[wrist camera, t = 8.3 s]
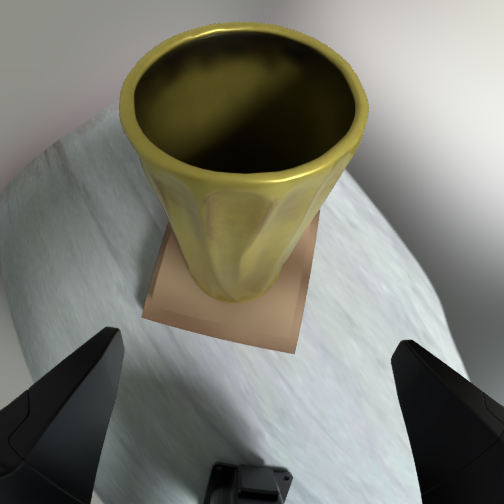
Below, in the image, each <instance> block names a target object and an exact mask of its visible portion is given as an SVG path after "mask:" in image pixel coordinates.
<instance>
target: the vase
mask: <svg viewBox="0 0 504 504" xmlns="http://www.w3.org/2000/svg"><path fill="white" fill-rule="evenodd" d="M368 112H369V104H368V99H367V96H366V93H365V91H364V89H363V87H362V84H361V82H360V80H359V79H358V76H357V74H356V73H355V72H354V70H353V69H352V67H351V66H350V64H348V63H347V61H345V60H344V59H343V58H342V57H341V56H340V55H339V54H338V53H336V52H335V51H334V50H332V49H331V48H330V47H328V46H327V45H325V44H323V43H322V42H320V41H318V40H317V39H315V38H313V37H311V36H308V35H306V34H303V33H301V32H298V31H295V30H292V29H289V28H285V27H282V26H277V25H272V24H265V23H254V22H229V23H218V24H211V25H207V26H203V27H198V28H195V29H192V30H189V31H186V32H183V33H180V34H178V35H175V36H173V37H171V38H169V39H167V40H165V41H163V42H162V43H160V44H159V45H157V46H156V47H154V48H153V49H152V50H150V51H149V52H148V53H146V54H145V55H144V56H143V57H142V58H141V59H140V60H139V61H138V62H137V63H136V65H135V66H134V67H133V68H132V70H131V71H130V73H129V74H128V76H127V77H126V79H125V81H124V83H123V86H122V90H121V95H120V102H119V115H120V122H121V125H122V128H123V131H124V133H125V134H126V136H127V137H128V139H129V140H130V142H131V144H132V145H133V147H134V148H135V150H136V151H137V154H138V156H139V159H140V162H141V164H142V167H143V170H144V172H145V174H146V176H147V178H148V180H149V182H150V184H151V186H152V188H153V189H154V191H155V193H156V195H157V196H158V198H159V200H160V202H161V204H162V206H163V208H164V210H165V212H166V214H167V217H168V219H169V221H170V224H171V226H172V228H173V231H174V233H175V235H176V238H177V240H178V243H179V245H180V248H181V250H182V252H183V255H184V257H185V260H186V261H187V263H188V268H189V272H190V274H191V276H192V278H193V280H194V281H195V283H196V284H197V286H198V287H199V288H200V289H201V290H202V291H203V292H204V293H206V294H207V295H208V296H210V297H212V298H214V299H216V300H219V301H222V302H227V303H244V302H248V301H251V300H254V299H256V298H259V297H261V296H262V295H264V294H265V293H266V292H267V291H268V290H269V289H270V288H271V287H272V286H273V284H274V283H275V282H276V281H277V279H278V277H279V275H280V272H281V269H282V265H283V264H284V263H285V262H286V260H287V259H288V257H289V256H290V254H291V252H292V251H293V249H294V248H295V246H296V244H297V242H298V241H299V239H300V237H301V235H302V233H303V232H304V230H305V229H306V227H307V226H308V225H309V224H310V222H311V221H312V219H313V218H314V216H315V215H316V213H317V212H318V210H319V209H320V207H321V206H322V204H323V203H324V201H325V200H326V198H327V197H328V195H329V193H330V192H331V190H332V189H333V187H334V185H335V184H336V182H337V181H338V179H339V177H340V176H341V174H342V172H343V171H344V169H345V168H346V166H347V164H348V163H349V161H350V160H351V158H352V157H353V155H354V153H355V151H356V149H357V148H358V146H359V144H360V142H361V139H362V136H363V132H364V129H365V126H366V122H367V118H368Z"/></svg>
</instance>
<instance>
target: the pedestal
mask: <svg viewBox="0 0 504 504" xmlns="http://www.w3.org/2000/svg"><path fill="white" fill-rule="evenodd" d="M319 214H320V210H318V212H317V213H316V215H315V216H314V218H313V219H312V221H311V222H310V224H309V225H308V226H307V227H306V229H305V230H304V232H303V233H302V235H301V237H300V239H299V241H298V242H297V244H296V246H295V248H294V249H293V251H292V252H291V254H290V256H289V257H288V259H287V260H286V262H285V263H284V264H283V265H282V269H281V272H280V275H279V277H278V279H277V281H276V282H275V283H274V284H273V286H272V287H271V288H270V289H269V290H268V291H267V292H266V293H265V294H264V295H262V296H261V297H259V298H256V299H254V300H251V301H248V302H244V303H227V302H222V301H219V300H216V299H214V298H212V297H210V296H208V295H207V294H206V293H204V292H203V291H202V290H201V289H200V288H199V287H198V286H197V284H196V283H195V281H194V280H193V278H192V276H191V274H190V272H189V268H188V263H187V261H186V260H185V257H184V255H183V252H182V250H181V248H180V245H179V243H178V240H177V238H176V235H175V233H174V231H173V228H172V226H171V224H170V221H169V222H168V225H167V228H166V231H165V235H164V238H163V241H162V244H161V248H160V251H159V254H158V258H157V261H156V265H155V268H154V272H153V275H152V279H151V283H150V286H149V290H148V294H147V298H146V302H145V305H144V309H143V314H142V318H145V319H148V320H151V321H155V322H158V323H162V324H165V325H169V326H172V327H176V328H180V329H183V330H187V331H191V332H195V333H199V334H203V335H207V336H211V337H215V338H219V339H223V340H228V341H232V342H236V343H241V344H245V345H250V346H255V347H260V348H265V349H270V350H275V351H280V352H286V353H291V354H295V350H296V346H297V341H298V336H299V331H300V326H301V321H302V316H303V311H304V306H305V300H306V295H307V290H308V284H309V278H310V272H311V267H312V260H313V254H314V248H315V242H316V235H317V228H318V221H319Z"/></svg>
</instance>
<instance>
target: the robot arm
mask: <svg viewBox="0 0 504 504" xmlns="http://www.w3.org/2000/svg"><path fill="white" fill-rule="evenodd" d="M123 357H124V345H123V340H122V336H121V332H120V330H119V329H118V328H115V327H105V328H104V329H102V330H101V331H100V332H98V333H97V334H96V335H95V336H93V337H92V338H91V339H89V340H88V341H87V342H86V343H84V344H83V345H82V346H81V347H79V348H78V349H77V350H75V351H74V352H73V353H72V354H70V355H69V356H68V357H67V358H65V359H64V360H63V361H62V362H60V363H59V364H58V365H57V366H55V367H54V368H53V369H52V370H50V371H49V372H48V373H47V374H45V375H44V376H43V377H42V378H41V379H39V380H38V381H37V382H36V383H34V384H33V385H32V386H31V387H30V388H29V390H26V391H25V392H23V393H22V394H21V395H20V396H19V397H17V398H16V399H15V400H14V401H12V402H11V403H10V404H9V405H7V406H6V407H4V408H3V409H2V410H0V504H90V503H91V498H92V493H93V488H94V483H95V478H96V473H97V469H98V464H99V460H100V455H101V451H102V447H103V443H104V439H105V435H106V431H107V428H108V424H109V420H110V417H111V413H112V410H113V406H114V403H115V399H116V394H117V389H118V383H119V378H120V372H121V367H122V362H123ZM391 365H392V370H393V375H394V380H395V385H396V390H397V395H398V400H399V404H400V407H401V411H402V414H403V418H404V422H405V425H406V429H407V433H408V437H409V441H410V445H411V449H412V454H413V458H414V462H415V467H416V472H417V476H418V481H419V487H420V492H421V498H422V504H504V407H503V406H502V405H500V404H499V403H497V402H496V401H494V400H493V399H492V398H490V397H489V396H488V395H487V394H485V393H484V392H482V391H481V390H480V389H479V388H477V387H476V386H474V385H473V384H472V383H471V382H469V381H468V380H467V379H465V378H464V377H463V376H461V375H460V374H459V373H457V372H456V371H454V370H453V369H452V368H450V367H449V366H448V365H446V364H445V363H444V362H442V361H441V360H440V359H438V358H437V357H435V356H434V355H433V354H431V353H430V352H429V351H427V350H426V349H424V348H423V347H422V346H420V345H419V344H418V343H416V342H415V341H413V340H402V341H401V342H400V343H399V345H398V346H397V348H396V350H395V352H394V354H393V355H392V358H391ZM216 467H221V469H220V470H218V469H216ZM285 476H289V477H288V478H287V479H284V477H285ZM292 479H293V476H292V474H291V473H290V472H284V471H274V470H272V469H270V468H263V467H255V466H248V465H239V466H237V465H231V464H225V463H220V462H217V463H214V464H213V466H212V469H211V474H210V478H209V482H208V486H207V490H206V494H205V499H204V503H203V504H284V502H285V499H286V497H287V494H288V491H289V488H290V485H291V482H292Z"/></svg>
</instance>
